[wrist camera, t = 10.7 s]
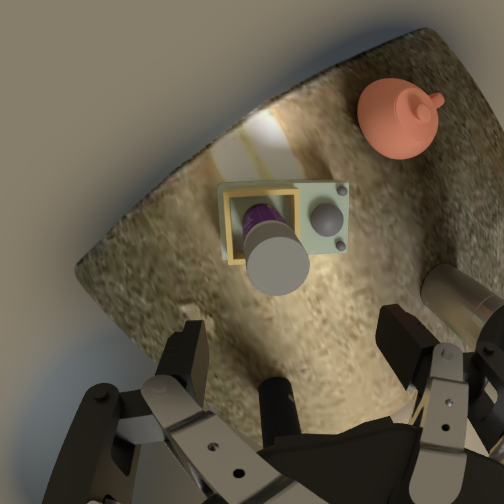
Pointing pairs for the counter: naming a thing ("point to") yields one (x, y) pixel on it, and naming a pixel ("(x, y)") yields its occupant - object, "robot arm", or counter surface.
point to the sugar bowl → (398, 117)
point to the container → (272, 252)
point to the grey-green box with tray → (287, 213)
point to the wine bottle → (277, 410)
